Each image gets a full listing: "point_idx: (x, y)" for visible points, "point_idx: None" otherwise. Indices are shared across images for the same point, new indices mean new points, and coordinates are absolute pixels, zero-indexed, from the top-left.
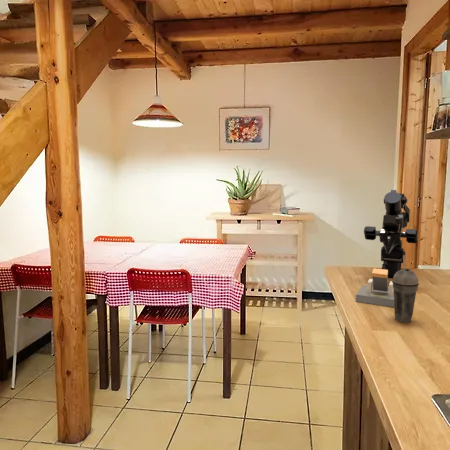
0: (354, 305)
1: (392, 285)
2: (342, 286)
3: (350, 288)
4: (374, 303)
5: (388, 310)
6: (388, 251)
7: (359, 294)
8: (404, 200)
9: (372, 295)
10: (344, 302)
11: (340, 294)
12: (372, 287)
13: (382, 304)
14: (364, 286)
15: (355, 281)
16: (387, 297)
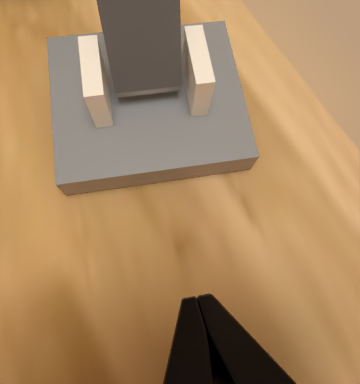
0: (207, 9)
1: (79, 38)
2: (356, 194)
3: (312, 186)
4: None
5: (91, 22)
6: (188, 302)
7: (213, 27)
8: None
9: None
10: (248, 18)
11: (303, 87)
12: (189, 94)
13: None
14: (241, 139)
15: (354, 323)
16: (104, 49)
